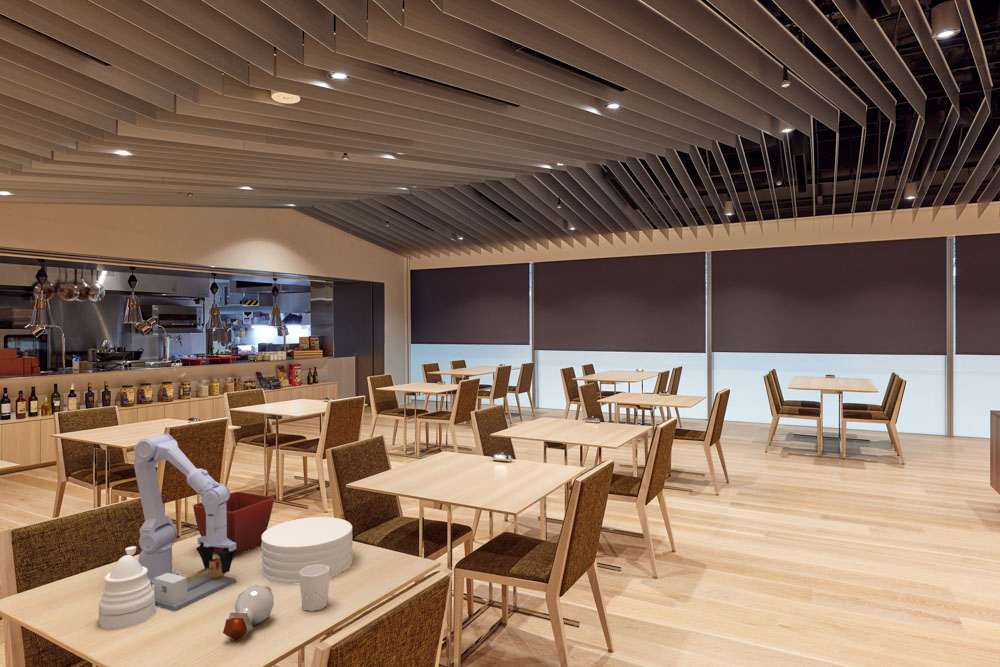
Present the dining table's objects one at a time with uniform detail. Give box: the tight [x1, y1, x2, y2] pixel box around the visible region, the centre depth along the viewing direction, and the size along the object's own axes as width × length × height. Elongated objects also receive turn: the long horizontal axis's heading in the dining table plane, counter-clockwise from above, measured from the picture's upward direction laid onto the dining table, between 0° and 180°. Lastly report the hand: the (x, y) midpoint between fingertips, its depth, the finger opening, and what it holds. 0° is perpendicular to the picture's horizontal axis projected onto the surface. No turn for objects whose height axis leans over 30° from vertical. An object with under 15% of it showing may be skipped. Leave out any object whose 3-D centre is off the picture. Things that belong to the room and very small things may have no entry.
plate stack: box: [261, 516, 354, 585], centre depth 195 cm, size 28×28×12 cm
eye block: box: [153, 573, 236, 612], centre depth 176 cm, size 12×20×7 cm, turn 155°
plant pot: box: [192, 491, 275, 557], centre depth 210 cm, size 19×19×17 cm
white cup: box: [299, 565, 330, 612], centre depth 167 cm, size 8×8×10 cm
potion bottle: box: [222, 584, 275, 642], centre depth 155 cm, size 9×10×15 cm
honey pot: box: [98, 545, 156, 630], centre depth 161 cm, size 13×13×18 cm
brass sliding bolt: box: [185, 556, 226, 583], centre depth 179 cm, size 3×12×5 cm, turn 155°
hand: (217, 570), depth 184 cm, fingers open, 7 cm apart
